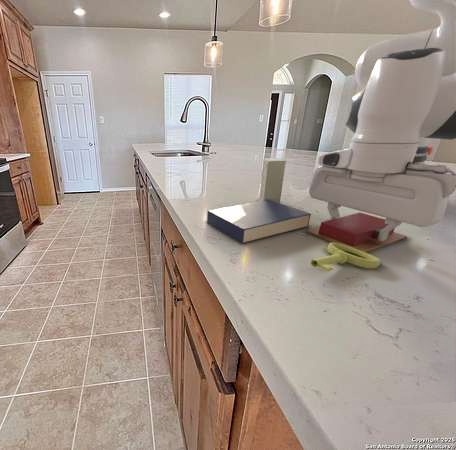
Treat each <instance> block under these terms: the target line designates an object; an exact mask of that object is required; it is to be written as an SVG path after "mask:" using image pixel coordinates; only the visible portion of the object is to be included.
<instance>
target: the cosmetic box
mask: <svg viewBox="0 0 456 450" xmlns="http://www.w3.org/2000/svg"><path fill="white" fill-rule="evenodd" d="M286 163H287V160H285V159H283V158H281V157H270V158H269V157H264V158H263V160H262V170H261V178H260V187H259V197H258V201H261V200H267V199H268V200H271V201H274V202H277V203H280V204H281V198H282V192H283V191H282V190H283V185H284V184H283V183H284V178H285V170H286V165H287V164H286Z"/></svg>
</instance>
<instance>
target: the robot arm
mask: <svg viewBox="0 0 456 450" xmlns="http://www.w3.org/2000/svg"><path fill="white" fill-rule="evenodd" d="M408 1H409V4H410V5H411V6H412V7H413V8H415V9H416V10H419V11H423V12H428V13H432V14H436V15H437V16H438V17H439V19H440V25H438V26H437V27H435V28H431V29H427V30H422V31H417V32H412V33H408V34H402V35H397V36H394V37H391V38H388V39H385V40H382V41H380V42H377V43H375V44H372V45H370V46H369V47H368V48H366V50H365V51H364V52H363V53H362V54H361V55H360V57H359V58H358V61H357V62H356V65H355V68H354V80H355V81H356V84H357V85H358V86H359V87H360V88H361V90H360V91H359V92H357V93H355V94H354V95H353V96H352V102H351V103H352V104H351V109H350V112H349V116H348V119H347V122H346V123H345V126H346V127H347V128H348V129H349V130H350V131H351V132H352V133H354V134H353V136H351V140H350V143H349V147H348V148H342V149H339V150H336V151H331V152H326V153H322V154H320V155H319V157H318V160H317V162H318V165H319V166H318V167H316V168H315V170H314V172H313V173H312V176H311V181H310V184H309V188H308V194H309V196H310V198H311V199H315V200H317V201H321V202H326V203H327V206H326V208H327V211H328V214H329V216H330V218H329V220H332V219H336V218H340V217H343V216H341V215H340V211H339V208H341V207H344V208H347V209H352V210H355V211H359V212H362V213H366V214H369V215H373V216H374V215H375V216H378V217H381V218H384V219H385V224H389V225H387V226H386V227H385V228H383V229H381V228H379V229H376V230H374V232H373V234H374V235H372V238H373V239H376V240H379V241H384V240H386V239H387V236H388V234H389V231H391V230H393V229H394V228H395V229H396V228H397V227H399V226H400V225H402V223H405V224H407V225H412V226H416V227H419V228H425V227H429V226H430V227H431V226H433V225H436V224H438V223H440V222H441V221H442V220H443V219H444V216H445V213H446V210H447V207H448V202H449V198H450V196H451V195H452V194H454V193H455V191H456V171H455V170H453V169H451V168H450V167H449V166H447V165H443V164H441V165H440V164H437V165H436V164H435V165H432V164H427V163H425V162H426V161H427V159H428V156H431V154H433V150H434V147H433V146H428V144H429V141H430V139H435V140H436V139H437V140H448V141H453V140H455V139H456V0H408ZM395 229H394V230H395Z"/></svg>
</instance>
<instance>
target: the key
mask: <svg viewBox="0 0 456 450" xmlns="http://www.w3.org/2000/svg"><path fill="white" fill-rule="evenodd" d="M327 252H328V253H329V254H330V255H327V256H323V257H318V258H314V259H311V260H310V262H309V263H310V265H311V267H312V268H321V269H322V270H324V271H326V272H330V271H333V270H334V266H331V264H335V263H338V264H344V263H350V264H352V265H356V266H358V267H362V268H366V269H377V268H378V267H379V266H380V264H381V259H380V258H378V257H376V256H374V255H373V254H370V253H369V252H363V251H360V250H358V249H355V248H352V247H349V246H346V245H343V244H339V243H332V242H329V243H328V245H327Z"/></svg>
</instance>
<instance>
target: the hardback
mask: <svg viewBox="0 0 456 450" xmlns="http://www.w3.org/2000/svg"><path fill="white" fill-rule="evenodd" d="M206 216H207V217H206V223H207V224H208V225H210V226H212V227H214V228H216V229H217V230H218V231H220V232H222V233H224V234H226V235H227V236H228V237H230V238H232V239H234V240H235V241H237V242H239V243H240V244H246V243H250V242H254V241H257V240H261V239H265V238H269V237H272V236H277V235H280V234H284V233H287V232H291V231H292V232H293V231H296V230H299V229H303V228H307V227H309V223H310V221H311V216H312V213H310V212H307V211H304V210H301V209H298V208H295V207H292V206H289V205H286V204H283V203H281V202H280V203H277V202H274V201H271V200H268V199H267V200H261V201H259V200H257V201H252V202H251V201H250V202H246V203H241V204H235V205H231V206H225V207H220V208H215V209H209V210H207V214H206Z"/></svg>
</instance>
